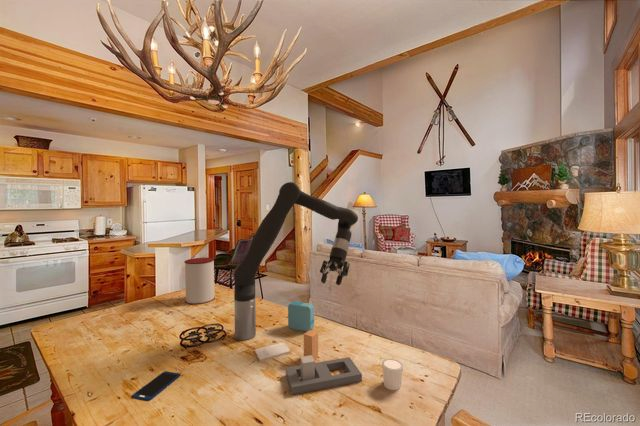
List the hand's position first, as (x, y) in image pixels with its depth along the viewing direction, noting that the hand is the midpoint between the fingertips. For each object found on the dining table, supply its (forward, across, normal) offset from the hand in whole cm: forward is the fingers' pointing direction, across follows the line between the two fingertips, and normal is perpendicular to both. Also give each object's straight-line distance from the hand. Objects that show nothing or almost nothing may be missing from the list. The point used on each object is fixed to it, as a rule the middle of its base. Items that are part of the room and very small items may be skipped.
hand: (330, 283), depth 124 cm
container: (+20, -96, -5) cm, 99 cm away
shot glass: (+30, +32, +7) cm, 45 cm away
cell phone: (+53, -25, -41) cm, 71 cm away
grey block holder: (+34, +13, -5) cm, 37 cm away
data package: (+20, -20, +12) cm, 31 cm away
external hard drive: (+33, -13, -7) cm, 37 cm away
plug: (+30, +2, -1) cm, 30 cm away
